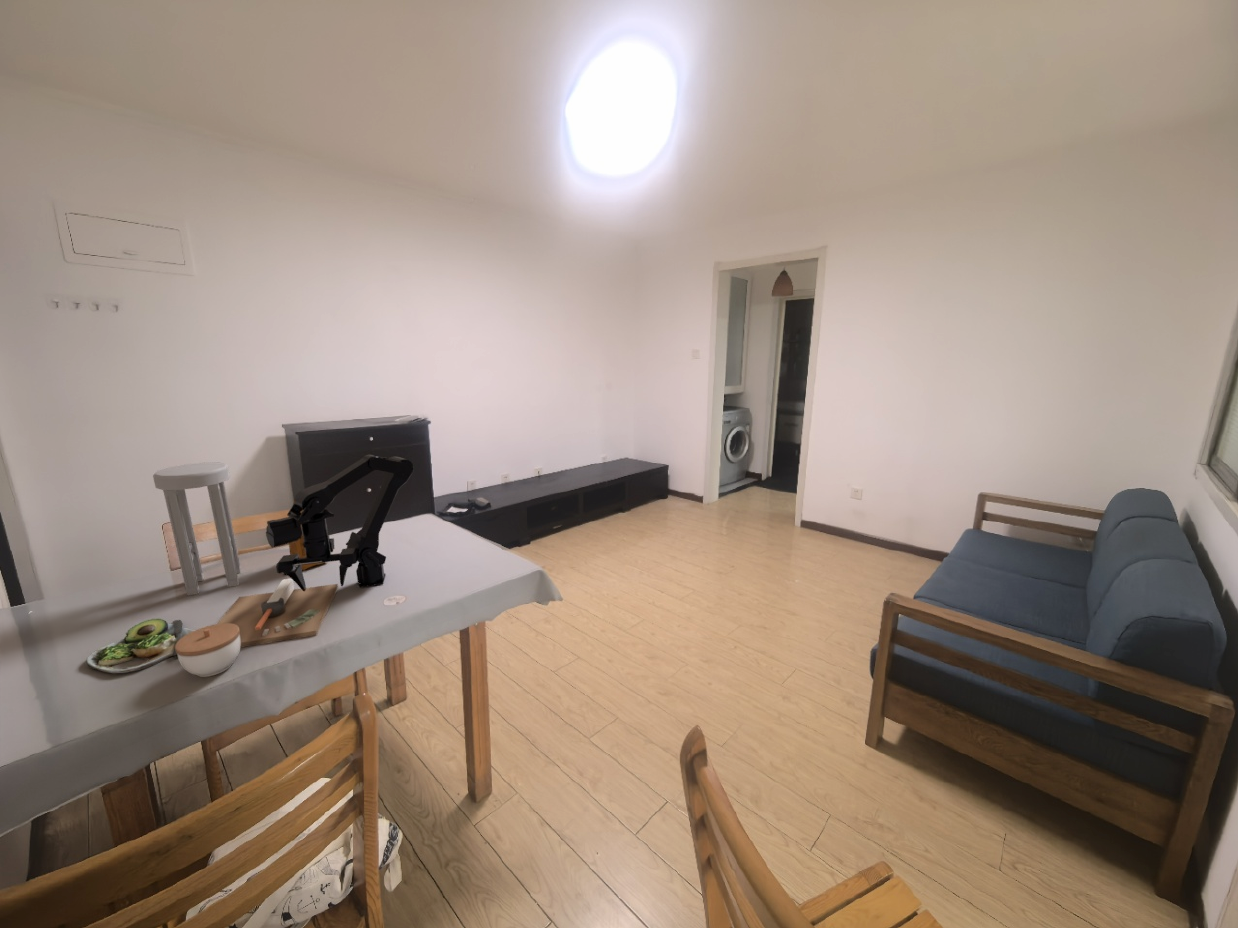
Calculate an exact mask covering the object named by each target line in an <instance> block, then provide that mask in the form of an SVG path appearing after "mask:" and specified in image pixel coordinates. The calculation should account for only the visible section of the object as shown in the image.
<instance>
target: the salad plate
mask: <svg viewBox="0 0 1238 928" xmlns="http://www.w3.org/2000/svg"><path fill="white" fill-rule="evenodd" d="M183 624H184V623H183V621H182V619H175V620H173V621H172V622H171V623H168V622H167V621H166V620H164V619H163V618H151V619H147V620H144V621H142V622H139V623H138V624H135V625H133V626H132V627H131V628H129V629H128V630H127V632H125V637H124V638H122V639H120V640H116V641H115V642H112V643H110V644H107V645H105V646H102V647H101V648H97V649H96V650H95V651H93V652H92V653H90V654H89V656H88V657H86V660H85V661H86V664H87V666H88V667H89V668H90V669H91V670H92V669H93V670H98V671H101V672H103V673H109V674H110V673H111V674H127V673H132V672H136V671H141V670H143V669H147V668H149V667H152V666H154V665H157V664H158V663H160V662H162V661H165V660H166V659H168V658H171V657H173V656H178V655H177V653H176V651H175V645H176V643H177V642H178V641H179V640H180V639H181V638H182V637H184V636H186V635H187V634H189V633H191V632H193V631H194V630H193V629H190V628H187V627H183ZM136 659H142V660H146V661H144V662H143V663H141V664H137V665H133V666H128V667H120V668H119V667H112V666H116V665H118V664H123V663H126V662H128V661H133V660H136Z"/></svg>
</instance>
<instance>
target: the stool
mask: <svg viewBox="0 0 1238 928" xmlns="http://www.w3.org/2000/svg"><path fill="white" fill-rule="evenodd" d="M152 477H153V483H154V486H155V488H156V489H157V490H162V492H163V495H164V500H165V503H166V508H167V512H168V517H169V522H170V526H171V530H172V534H173V539H174V543H175V547H176V553H177V556H178V560H179V565H180V569H181V570H180V571H181V573H182V579H183V582H184V587H185V592H186V595H188V596H193V595H197V594H199V592H200V587H199V584H198V582H202V581H204V579H205V577H204V576H205V575H204V572H203V571H204V570H203V566H202V563H201V557H200V554H199V549H198V544H197V540H196V535H195V531H194V526H193V521H192V517H191V513H190V507H189V502H188V497H187V495H186V494H187V493H186V490H190V489H198V488H204V487H207V492H208V497H209V501H210V502H209V503H210V506H211V511H212V516H213V521H214V526H215V530H216V535H217V541H218V544H219V550H220V554H221V555H220V556H221V560H222V565H223V568H224V573H225V574H224V575H225V578H226V580H225V581H226V584H227V588H230V587H234V586H235V587H236V586H238V585H239V577H238V575H239V574H241V572H242V567H241V562H240V557H239V552H238V547H237V543H236V542H237V541H236V537H235V531H234V527H233V522H232V517H231V512H230V507H229V506H230V505H229V502H228V496H227V492H226V491H227V490H226V487H225V482H226V481H228V480H229V479H230V477H231V475H230V470H229V465H228V464H227V463H222V462H198V463H186V464H180V465H175V466H174V465H173V466H170V467H169V466H168V467H165V468H162V469H159V470H157V471H156V472H155V473H154V474H153V475H152Z"/></svg>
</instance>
